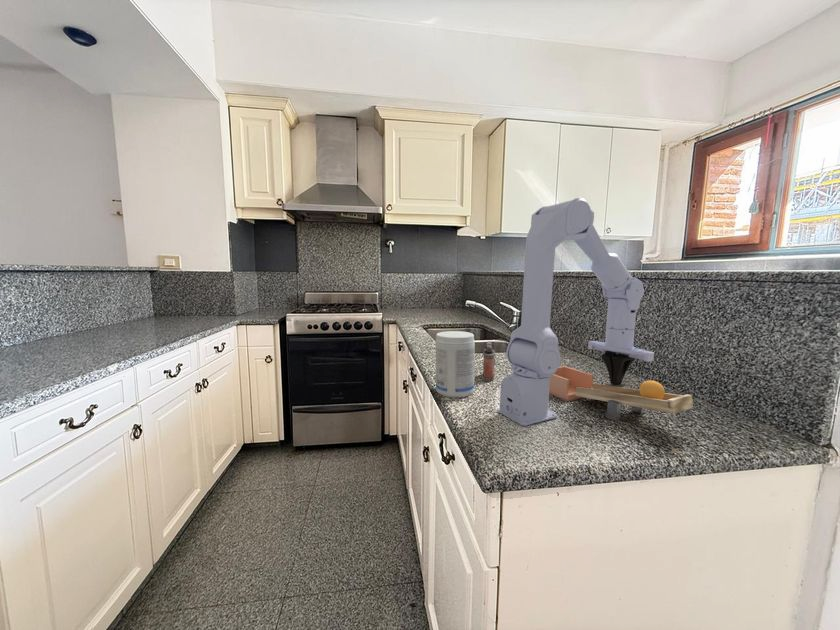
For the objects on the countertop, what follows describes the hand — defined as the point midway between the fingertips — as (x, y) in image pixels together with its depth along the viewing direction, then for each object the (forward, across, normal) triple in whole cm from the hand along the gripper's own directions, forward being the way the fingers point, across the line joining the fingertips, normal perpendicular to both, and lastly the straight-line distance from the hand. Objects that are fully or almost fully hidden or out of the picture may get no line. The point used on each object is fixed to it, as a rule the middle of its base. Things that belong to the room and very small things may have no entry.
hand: (615, 383), depth 78 cm
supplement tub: (+3, +19, +34) cm, 39 cm away
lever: (0, -8, +5) cm, 9 cm away
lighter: (+3, +25, +18) cm, 31 cm away
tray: (+3, +7, +8) cm, 12 cm away
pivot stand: (+3, -8, +8) cm, 12 cm away
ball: (-4, -12, +8) cm, 15 cm away
